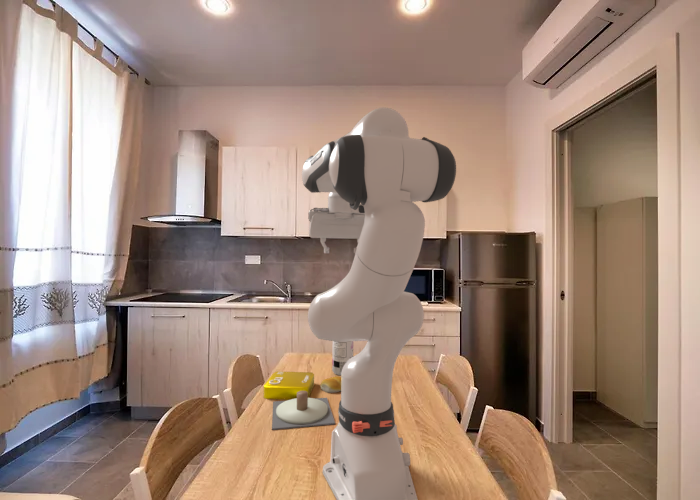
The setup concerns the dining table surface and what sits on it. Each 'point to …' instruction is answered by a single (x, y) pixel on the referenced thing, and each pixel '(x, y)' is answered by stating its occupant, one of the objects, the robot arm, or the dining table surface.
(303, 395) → the lid
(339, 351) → the supplement can
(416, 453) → the dining table surface
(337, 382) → the bread roll
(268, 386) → the element tile
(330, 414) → the mat
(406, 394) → the dining table surface
